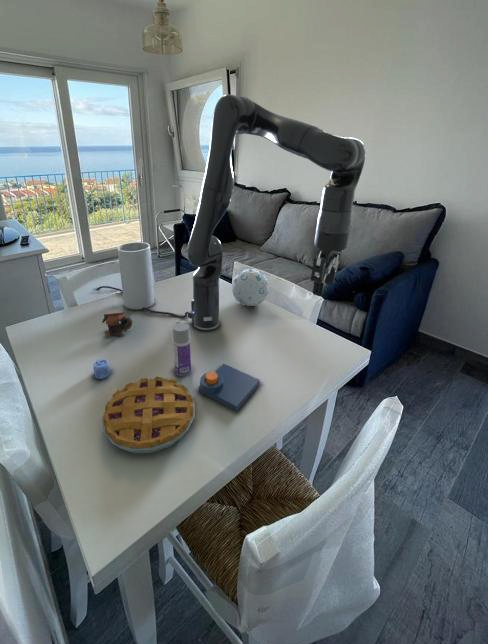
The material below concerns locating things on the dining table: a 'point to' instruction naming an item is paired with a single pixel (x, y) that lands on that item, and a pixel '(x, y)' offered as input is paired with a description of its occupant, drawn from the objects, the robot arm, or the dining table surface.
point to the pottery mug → (116, 324)
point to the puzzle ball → (250, 287)
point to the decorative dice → (101, 368)
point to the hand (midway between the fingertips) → (323, 289)
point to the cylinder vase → (136, 275)
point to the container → (181, 349)
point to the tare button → (211, 378)
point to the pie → (148, 415)
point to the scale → (229, 387)
